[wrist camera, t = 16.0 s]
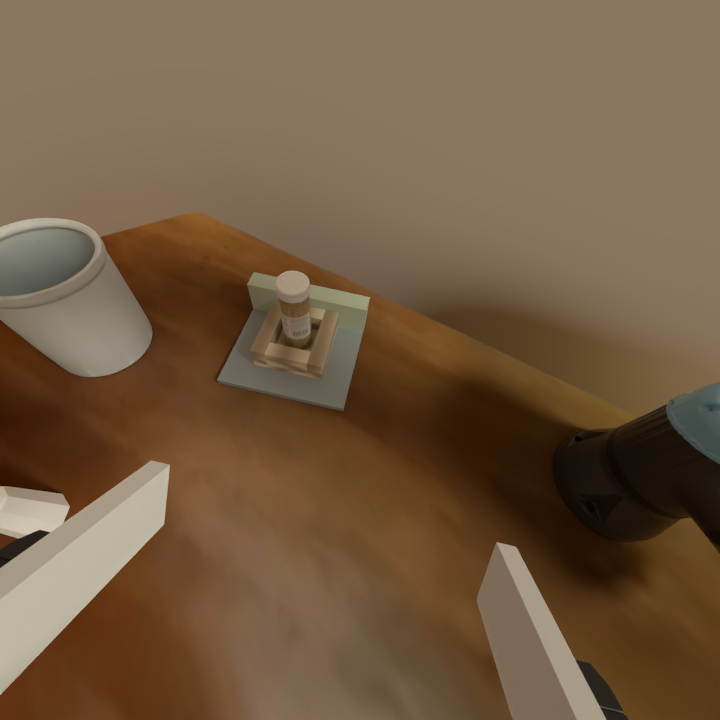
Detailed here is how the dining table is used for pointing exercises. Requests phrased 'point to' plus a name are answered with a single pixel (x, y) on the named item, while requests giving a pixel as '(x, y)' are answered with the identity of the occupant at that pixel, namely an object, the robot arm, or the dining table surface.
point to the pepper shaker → (30, 511)
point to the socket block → (280, 357)
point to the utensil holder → (69, 297)
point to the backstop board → (294, 386)
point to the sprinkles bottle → (295, 308)
